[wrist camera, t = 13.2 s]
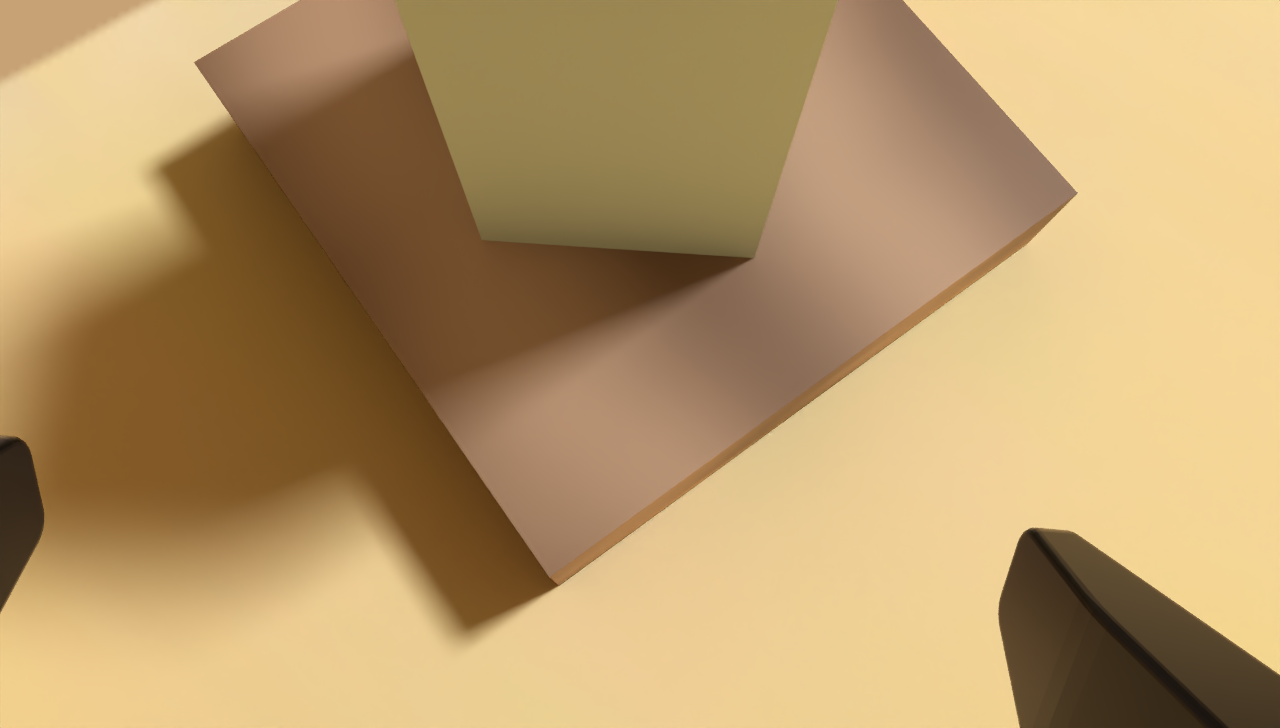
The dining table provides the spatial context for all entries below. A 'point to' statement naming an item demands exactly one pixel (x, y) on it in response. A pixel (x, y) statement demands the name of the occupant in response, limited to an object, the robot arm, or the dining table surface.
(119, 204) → the dining table surface
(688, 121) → the sage block
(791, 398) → the walnut base
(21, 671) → the dining table surface
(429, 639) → the dining table surface
